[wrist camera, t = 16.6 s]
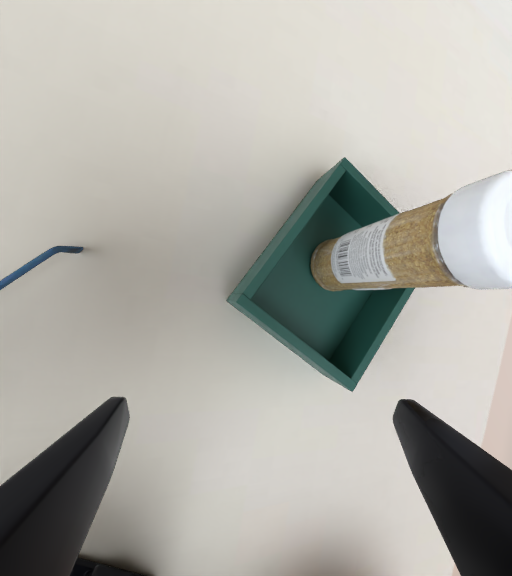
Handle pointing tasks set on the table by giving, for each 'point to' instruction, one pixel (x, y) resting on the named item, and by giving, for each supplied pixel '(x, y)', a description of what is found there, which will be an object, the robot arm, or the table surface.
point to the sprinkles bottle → (428, 245)
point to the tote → (309, 294)
